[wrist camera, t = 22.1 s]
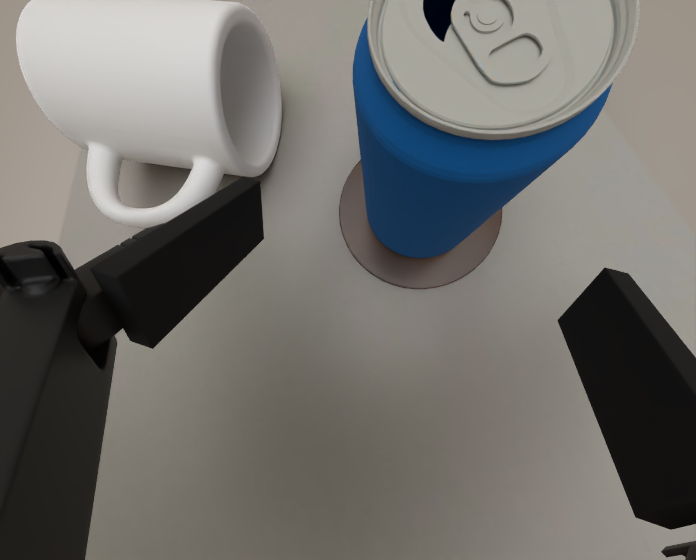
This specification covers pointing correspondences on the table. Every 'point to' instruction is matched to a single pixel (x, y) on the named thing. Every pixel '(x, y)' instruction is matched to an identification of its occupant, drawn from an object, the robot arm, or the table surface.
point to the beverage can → (475, 105)
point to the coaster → (403, 267)
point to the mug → (155, 91)
